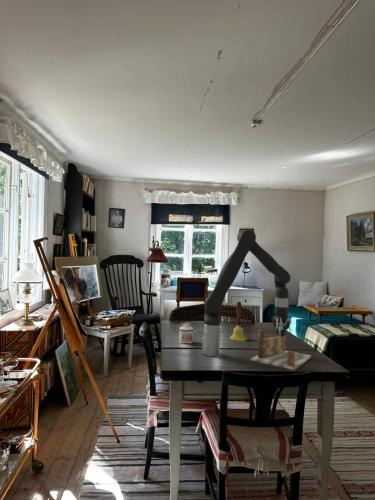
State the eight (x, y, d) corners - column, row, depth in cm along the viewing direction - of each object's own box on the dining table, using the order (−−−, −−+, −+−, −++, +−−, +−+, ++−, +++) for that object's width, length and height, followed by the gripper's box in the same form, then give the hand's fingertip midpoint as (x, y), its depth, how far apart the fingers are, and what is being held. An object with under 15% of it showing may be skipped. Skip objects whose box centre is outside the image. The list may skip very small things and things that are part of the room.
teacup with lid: (180, 344, 216) (181, 325, 216) (177, 340, 225) (177, 322, 225) (199, 344, 219) (199, 325, 219) (195, 340, 228) (195, 322, 228)
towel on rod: (250, 360, 189) (251, 330, 189) (271, 349, 211) (271, 322, 211) (294, 370, 175) (295, 338, 175) (311, 357, 197) (312, 329, 197)
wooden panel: (264, 356, 192) (265, 329, 192) (261, 355, 194) (262, 328, 194) (285, 351, 201) (286, 325, 201) (282, 350, 203) (282, 325, 203)
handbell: (248, 337, 238) (249, 301, 238) (245, 342, 227) (246, 303, 227) (231, 335, 242) (232, 300, 242) (227, 340, 231) (228, 302, 231)
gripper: (268, 304, 204) (267, 333, 204) (286, 307, 193) (286, 339, 193) (276, 303, 209) (275, 332, 209) (295, 307, 197) (294, 337, 197)
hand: (280, 335), depth 201 cm, fingers closed on wooden panel, 2 cm apart
